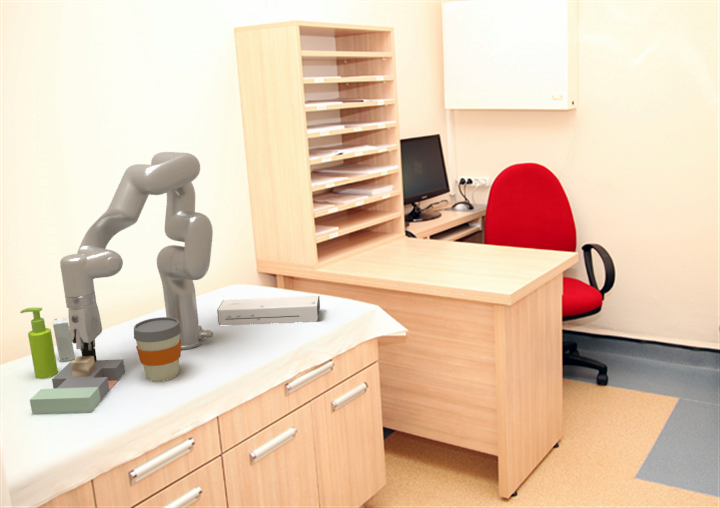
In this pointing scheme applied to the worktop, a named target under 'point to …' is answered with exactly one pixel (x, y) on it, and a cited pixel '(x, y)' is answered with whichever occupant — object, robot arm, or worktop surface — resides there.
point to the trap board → (78, 389)
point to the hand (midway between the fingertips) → (90, 362)
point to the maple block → (83, 366)
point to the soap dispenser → (41, 346)
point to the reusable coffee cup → (159, 347)
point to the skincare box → (63, 339)
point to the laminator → (269, 310)
